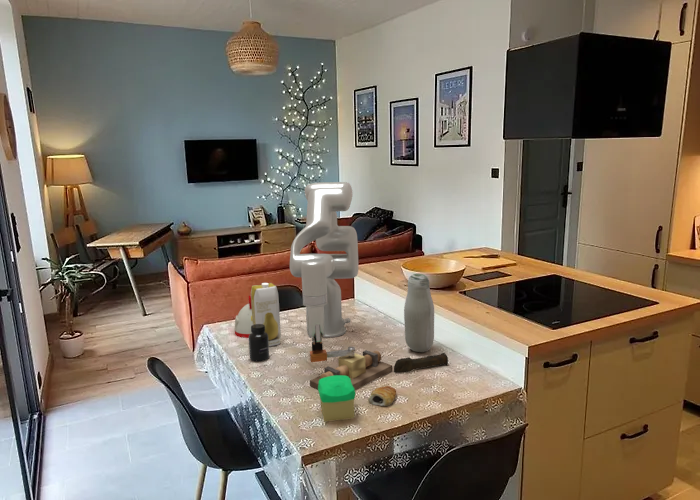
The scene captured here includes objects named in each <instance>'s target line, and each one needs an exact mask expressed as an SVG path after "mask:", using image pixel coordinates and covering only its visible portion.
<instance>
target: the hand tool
mask: <svg viewBox="0 0 700 500" xmlns="http://www.w3.org/2000/svg"><path fill="white" fill-rule="evenodd" d="M441 365H443V366H448V365H449V357H448V355H447V354H446V353H445V352H441V353H440V354H434V355H427V356H422V357H417V358H411V357H410V356H409V357H405V358H398V359H397V360H396V361H395V364H394V366H393V373H395V374H402V373H403V374H404V373H412V371H414V370H420V369H424V368H431V367H437V366H441Z"/></svg>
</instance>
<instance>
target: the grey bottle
mask: <svg viewBox="0 0 700 500" xmlns="http://www.w3.org/2000/svg"><path fill="white" fill-rule="evenodd" d="M432 297H433V296H432V294H431V289H430V280H429V278H428V276H426V275H425V274H422V273H413V274H411V275H410V276H409V278H408V281H407V292H406V297H405V301H404V307H403V308H404V309H403V315H404V316H403V318H404V340H405V343H406V345H407V346H408V348H409V349H410V350H412V351H413V352H416V353H425V352H427V351H429V350H430V349H431V348H432V347H433V344H434V340H435V304H434V302H433V301H434V300H433V298H432Z"/></svg>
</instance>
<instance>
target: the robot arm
mask: <svg viewBox="0 0 700 500" xmlns="http://www.w3.org/2000/svg"><path fill="white" fill-rule="evenodd" d="M352 188H353V187H352V185H351V184H350V183H349V182H347V181H334V182H333V181H332V182H330V181H329V182H328V181H327V182H326V181H325V182H313V183H308V184H307V185H306V186H305V188H304V196H305V198H306V200H307V204H306V205H307V206H306V208H307V209H306V220H305V221H306V225H305V226H304V228H302V229H301V231H299V232H298V233H297V234H296V236H295V238H294V240H293V241H292V243H291V247H290V253H289V254H290V255H289V271H290V273H291V275H292V276H293V277H295V278H301V290H302V305H303V306H304V307H305V308H306V309H305V312H306V313H305V315H306V317H305V318H306V332H307V336H308V338H309V339H311V340H312V342H311V351H315V350H324V349H323V347H324V346H323V338H337V337H341V336H343V335H345V334H346V333H347V328H346V327H345V325H346V324H348V323H349V324H350V322H351V318H350V317H347V318H346V317H345V318H343V314H342V313H343V310H342V309H343V308H342V290H341V287H340V285H339V283H338V281H336V280H337V279H339V280H341V279H342V280H343V279H354V278H357V276H358V274H359V248H358V247H359V245H358V244H359V243H358V234H357V231H356V229H355V227H354V226H350V225H338V215H337V212H347V211H349V209H350V207H351V204H352V200H353V189H352ZM314 241H315V244H316V248H317V249H318V250H319V251H323V252H345V253H301V251H302V250H303V248H304V247H305V246H306V245H308V244H309V243H312V242H314ZM335 279H336V280H335Z"/></svg>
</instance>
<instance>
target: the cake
mask: <svg viewBox="0 0 700 500" xmlns="http://www.w3.org/2000/svg"><path fill="white" fill-rule="evenodd" d="M317 392H318V395H319V400H320V401H319V402H320V409H321V413H322V417H323V421H324V422H332V421H340V420H342V421H343V420H349V419H350V420H351V419H355V398H356V390H355V389H354V387H353V385H352V383H351V380H350V378H349V377H348V376H344V375H334V376H328V377H324V378H321V379H320V380H319V383H318V390H317Z"/></svg>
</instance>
